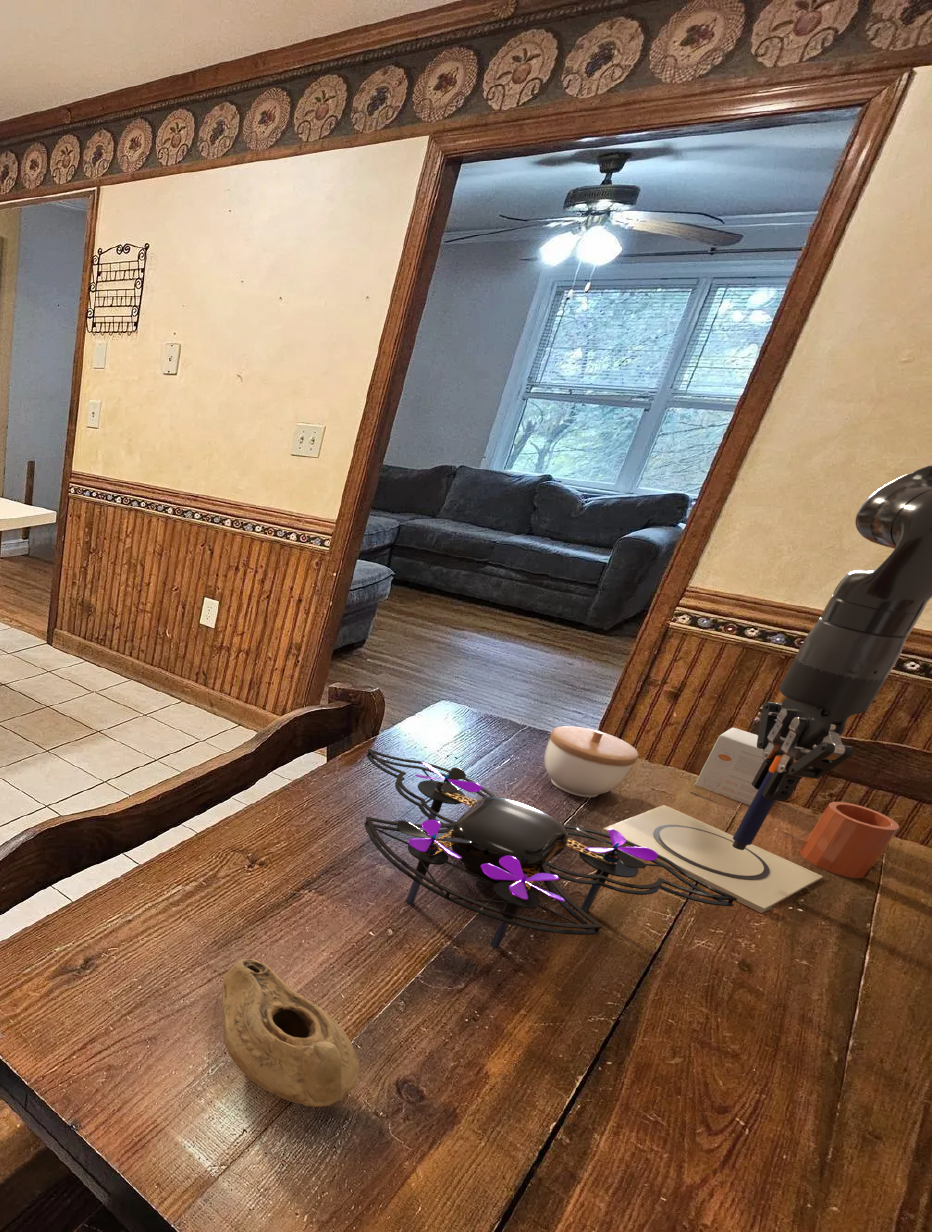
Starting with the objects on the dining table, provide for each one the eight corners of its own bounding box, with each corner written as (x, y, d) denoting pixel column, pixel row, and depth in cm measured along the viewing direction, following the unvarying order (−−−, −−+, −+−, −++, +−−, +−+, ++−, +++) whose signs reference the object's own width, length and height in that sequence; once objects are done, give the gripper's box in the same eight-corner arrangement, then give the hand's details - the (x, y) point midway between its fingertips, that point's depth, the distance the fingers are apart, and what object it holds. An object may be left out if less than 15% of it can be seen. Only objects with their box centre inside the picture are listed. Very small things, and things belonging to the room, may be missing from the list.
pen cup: (810, 847, 108) (841, 797, 104) (872, 874, 103) (907, 823, 99) (789, 857, 105) (820, 807, 102) (852, 886, 100) (887, 834, 97)
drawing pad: (661, 809, 115) (664, 803, 114) (820, 881, 101) (824, 875, 100) (600, 832, 108) (603, 826, 108) (761, 913, 94) (765, 907, 93)
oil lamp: (260, 983, 79) (277, 921, 75) (380, 1107, 67) (407, 1040, 63) (170, 1013, 75) (184, 949, 71) (280, 1151, 63) (304, 1082, 59)
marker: (732, 841, 101) (780, 753, 95) (751, 849, 99) (800, 760, 94) (725, 845, 100) (773, 756, 95) (743, 853, 99) (793, 763, 93)
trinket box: (581, 769, 125) (605, 717, 120) (635, 806, 115) (663, 751, 111) (517, 768, 124) (539, 715, 120) (566, 805, 114) (591, 749, 110)
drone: (750, 873, 84) (698, 995, 67) (709, 942, 89) (649, 1073, 72) (382, 731, 111) (278, 793, 94) (364, 789, 115) (261, 858, 98)
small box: (766, 810, 116) (802, 748, 112) (754, 821, 113) (791, 757, 109) (700, 785, 122) (732, 725, 117) (687, 795, 119) (719, 734, 114)
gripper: (927, 692, 82) (840, 830, 89) (844, 648, 94) (773, 773, 101) (838, 680, 84) (760, 816, 91) (768, 639, 96) (704, 762, 103)
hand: (767, 793), depth 96 cm, fingers closed on marker, 2 cm apart
